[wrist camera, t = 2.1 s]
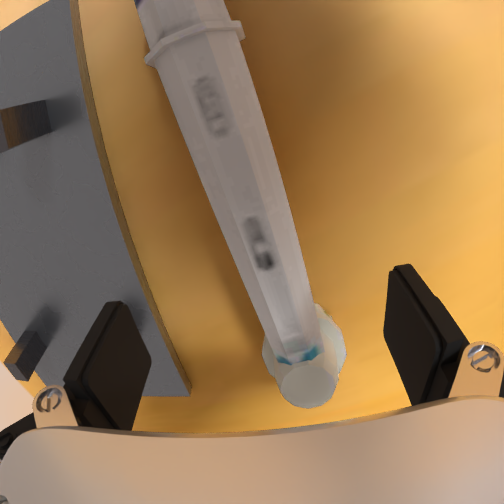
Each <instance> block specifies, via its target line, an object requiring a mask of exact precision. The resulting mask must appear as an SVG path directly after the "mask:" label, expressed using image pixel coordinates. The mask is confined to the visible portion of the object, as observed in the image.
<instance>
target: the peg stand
mask: <svg viewBox="0 0 504 504" xmlns="http://www.w3.org/2000/svg"><path fill="white" fill-rule="evenodd" d="M110 301H122V302H123V303H124V304H126V305H127V306H128V307H129V310H130V312H131V314H132V317H133V319H134V321H135V323H136V326H137V328H138V330H139V332H140V335H141V337H142V339H143V341H144V343H145V345H146V348H147V350H148V352H149V354H150V356H151V361H152V363H151V368H150V371H149V374H148V377H147V380H146V384H145V387H144V390H143V393H142V396H190V394H191V389H192V387H191V385H190V382H189V380H188V378H187V376H186V374H185V372H184V370H183V367H182V365H181V363H180V361H179V358H178V356H177V354H176V352H175V349H174V347H173V345H172V343H171V340H170V338H169V336H168V333H167V331H166V328H165V326H164V324H163V321H162V319H161V316H160V314H159V311H158V309H157V306H156V304H155V301H154V299H153V296H152V294H151V291H150V288H149V286H148V283H147V280H146V278H145V275H144V272H143V270H142V267H141V264H140V261H139V258H138V256H137V253H136V250H135V247H134V244H133V241H132V238H131V235H130V232H129V229H128V226H127V223H126V220H125V217H124V214H123V210H122V207H121V204H120V201H119V197H118V194H117V191H116V187H115V184H114V180H113V177H112V173H111V169H110V166H109V162H108V158H107V155H106V151H105V147H104V143H103V139H102V135H101V131H100V126H99V122H98V118H97V113H96V109H95V104H94V99H93V95H92V90H91V85H90V80H89V74H88V69H87V63H86V57H85V51H84V45H83V38H82V31H81V24H80V16H79V7H78V0H50V1H48V2H46V3H44V4H42V5H41V6H39V7H37V8H36V9H34V10H32V11H31V12H29V13H27V14H26V15H24V16H23V17H21V18H19V19H18V20H16V21H15V22H13V23H12V24H10V25H9V26H7V27H6V28H4V29H3V30H2V31H0V319H1V321H2V323H3V324H4V326H5V328H6V329H7V331H8V332H9V334H10V336H11V337H12V339H13V340H14V342H15V343H16V344H15V346H14V347H13V349H12V350H11V352H10V353H9V355H8V356H7V358H6V359H5V361H4V362H3V363H4V364H5V365H6V367H7V368H8V370H9V371H10V372H11V373H12V375H13V376H14V377H15V379H16V380H22V381H29V379H30V377H31V375H32V373H33V372H34V370H35V372H36V373H37V374H38V376H39V377H40V378H41V380H42V381H43V382H44V383H45V385H46V386H50V385H60V386H62V387H63V386H64V384H65V382H64V381H63V380H62V379H63V378H64V376H65V374H66V372H67V370H68V368H69V366H70V364H71V362H72V361H73V359H74V357H75V355H76V353H77V351H78V350H79V348H80V346H81V344H82V342H83V341H84V339H85V337H86V335H87V334H88V332H89V330H90V328H91V327H92V325H93V323H94V322H95V320H96V318H97V316H98V315H99V313H100V311H101V310H102V308H103V306H104V305H105V303H106V302H110Z"/></svg>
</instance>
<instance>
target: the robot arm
mask: <svg viewBox="0 0 504 504" xmlns="http://www.w3.org/2000/svg"><path fill="white" fill-rule="evenodd" d="M383 333H384V338H385V341H386V343H387V346H388V348H389V350H390V353H391V355H392V357H393V360H394V362H395V365H396V367H397V369H398V372H399V374H400V377H401V379H402V382H403V384H404V387H405V389H406V392H407V394H408V397H409V399H410V402H411V405H412V406H410V407H405V408H401V409H397V410H392V411H388V412H383V413H378V414H373V415H368V416H363V417H358V418H353V419H348V420H342V421H336V422H330V423H323V424H316V425H309V426H301V427H292V428H283V429H272V430H260V431H245V432H224V433H163V432H142V431H131V430H132V427H133V423H134V420H135V417H136V413H137V410H138V406H139V403H140V400H141V397H142V393H143V390H144V387H145V384H146V380H147V377H148V374H149V371H150V368H151V363H152V361H151V356H150V354H149V352H148V350H147V348H146V345H145V343H144V341H143V339H142V337H141V335H140V332H139V330H138V328H137V326H136V323H135V321H134V319H133V317H132V314H131V312H130V310H129V307H128V306H127V305H126V304H124V303H123V302H122V301H110V302H106V303H105V305H104V306H103V308H102V310H101V311H100V313H99V315H98V316H97V318H96V320H95V322H94V323H93V325H92V327H91V328H90V330H89V332H88V334H87V335H86V337H85V339H84V341H83V342H82V344H81V346H80V348H79V350H78V351H77V353H76V355H75V357H74V359H73V361H72V362H71V364H70V366H69V368H68V370H67V372H66V374H65V376H64V378H63V379H62V380H63V381H64V382H65V384H64V386H63V387H62V386H60V385H50V386H47V387H45V388H43V389H42V390H40V391H39V392H38V394H37V395H36V396H35V398H34V400H33V404H32V405H33V413H31V414H29V415H28V416H26V417H24V418H22V419H21V420H19V421H17V422H16V423H14V424H12V425H10V426H9V427H7V428H5V429H4V430H2V431H1V432H0V504H504V356H503V353H502V352H501V351H500V349H499V348H498V347H496V346H495V345H493V344H491V343H488V342H483V341H479V342H474V343H471V344H470V343H469V341H468V340H467V338H466V337H465V335H464V334H463V332H462V331H461V329H460V328H459V326H458V325H457V324H456V322H455V321H454V319H453V318H452V316H451V315H450V313H449V312H448V311H447V309H446V308H445V306H444V305H443V304H442V302H441V301H440V299H439V298H438V297H436V296H434V294H433V293H432V292H431V290H430V289H429V288H428V286H427V285H426V284H425V282H424V281H423V280H422V278H421V277H420V276H419V274H418V273H417V272H416V270H415V269H414V268H413V266H412V265H411V264H404V265H398V266H395V267H394V269H393V271H390V272H389V278H388V290H387V302H386V311H385V321H384V329H383Z"/></svg>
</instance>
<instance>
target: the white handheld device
mask: <svg viewBox="0 0 504 504" xmlns="http://www.w3.org/2000/svg"><path fill="white" fill-rule="evenodd" d="M134 2H135V5H136V8H137V11H138V15H139V18H140V21H141V24H142V27H143V30H144V33H145V36H146V39H147V42H148V46H149V49H150V52H149V53H148V54H147V55H146V56H145V57H144V60H145V63H146V64H147V65H149V66H151V67H153V68H156V69H157V71H158V74H159V76H160V79H161V82H162V84H163V87H164V89H165V92H166V94H167V97H168V99H169V102H170V105H171V107H172V110H173V112H174V115H175V117H176V120H177V122H178V125H179V127H180V130H181V132H182V135H183V137H184V140H185V142H186V145H187V147H188V150H189V152H190V155H191V157H192V160H193V162H194V165H195V167H196V170H197V172H198V175H199V177H200V180H201V182H202V184H203V187H204V189H205V192H206V194H207V197H208V199H209V202H210V204H211V206H212V209H213V211H214V214H215V216H216V219H217V221H218V223H219V226H220V228H221V231H222V233H223V235H224V238H225V240H226V243H227V245H228V247H229V250H230V252H231V255H232V257H233V259H234V262H235V264H236V266H237V269H238V271H239V274H240V276H241V278H242V281H243V283H244V285H245V288H246V290H247V292H248V295H249V297H250V299H251V302H252V304H253V306H254V309H255V311H256V313H257V316H258V318H259V320H260V323H261V325H262V327H263V330H264V332H265V337H264V342H263V347H262V357H263V360H264V362H265V364H266V367H267V369H268V372H269V374H271V375H272V376H273V377H274V378H276V382H277V384H278V387H279V389H280V392H281V394H282V395H283V397H284V398H285V399H286V400H287V401H289V402H290V403H291V404H293V405H294V406H297V407H302V408H313V407H317V406H321V405H323V404H324V403H325V402H327V401H328V400H329V399H331V397H332V395H333V393H334V390H335V388H336V385H337V383H338V380H339V377H338V374H339V373H340V371H341V368H342V366H343V363H344V361H345V358H346V355H347V354H346V349H345V344H344V339H343V335H342V331H341V329H340V328H339V327H338V326H337V325H336V324H335V323H334V322H333V320H332V316H330V315H329V314H328V313H327V312H326V311H325V310H324V309H323V308H322V307H321V306H320V305H319V304H316V303H314V301H313V297H312V293H311V288H310V284H309V280H308V276H307V272H306V268H305V264H304V260H303V256H302V252H301V248H300V244H299V240H298V236H297V233H296V229H295V225H294V221H293V218H292V214H291V210H290V206H289V203H288V199H287V195H286V192H285V188H284V185H283V181H282V177H281V174H280V170H279V167H278V163H277V160H276V156H275V153H274V150H273V146H272V143H271V139H270V136H269V133H268V129H267V126H266V123H265V119H264V116H263V113H262V110H261V106H260V103H259V100H258V97H257V94H256V91H255V87H254V84H253V81H252V78H251V75H250V72H249V69H248V66H247V63H246V60H245V57H244V54H243V51H242V48H241V45H240V41H241V40H243V39H245V38H246V37H245V34H244V30H243V27H242V25H241V22H240V21H231V18H230V16H229V13H228V11H227V8H226V5H225V3H224V0H134Z"/></svg>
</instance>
